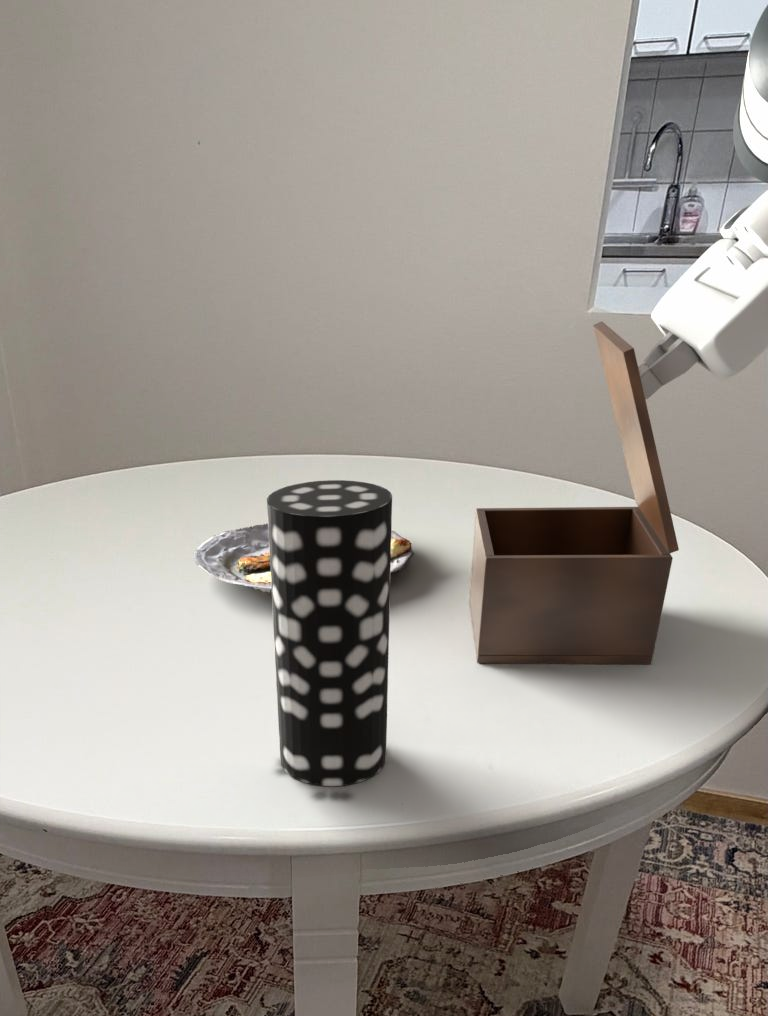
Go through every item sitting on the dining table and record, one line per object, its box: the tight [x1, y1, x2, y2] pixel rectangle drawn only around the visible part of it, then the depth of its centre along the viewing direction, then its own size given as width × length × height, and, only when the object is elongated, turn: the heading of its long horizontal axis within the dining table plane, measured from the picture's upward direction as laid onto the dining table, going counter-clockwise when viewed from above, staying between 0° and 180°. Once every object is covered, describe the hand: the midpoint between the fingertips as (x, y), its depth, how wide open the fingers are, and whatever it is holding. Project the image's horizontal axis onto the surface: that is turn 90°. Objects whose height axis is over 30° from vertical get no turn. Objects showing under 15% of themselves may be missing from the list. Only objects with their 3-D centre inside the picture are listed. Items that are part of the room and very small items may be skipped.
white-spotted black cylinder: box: [266, 479, 393, 787], centre depth 69 cm, size 8×8×20 cm
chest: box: [468, 506, 674, 665], centre depth 90 cm, size 16×15×10 cm
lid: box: [592, 320, 680, 554], centre depth 82 cm, size 17×15×1 cm
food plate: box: [193, 523, 415, 593], centre depth 109 cm, size 25×23×4 cm
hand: (634, 390), depth 80 cm, fingers closed
